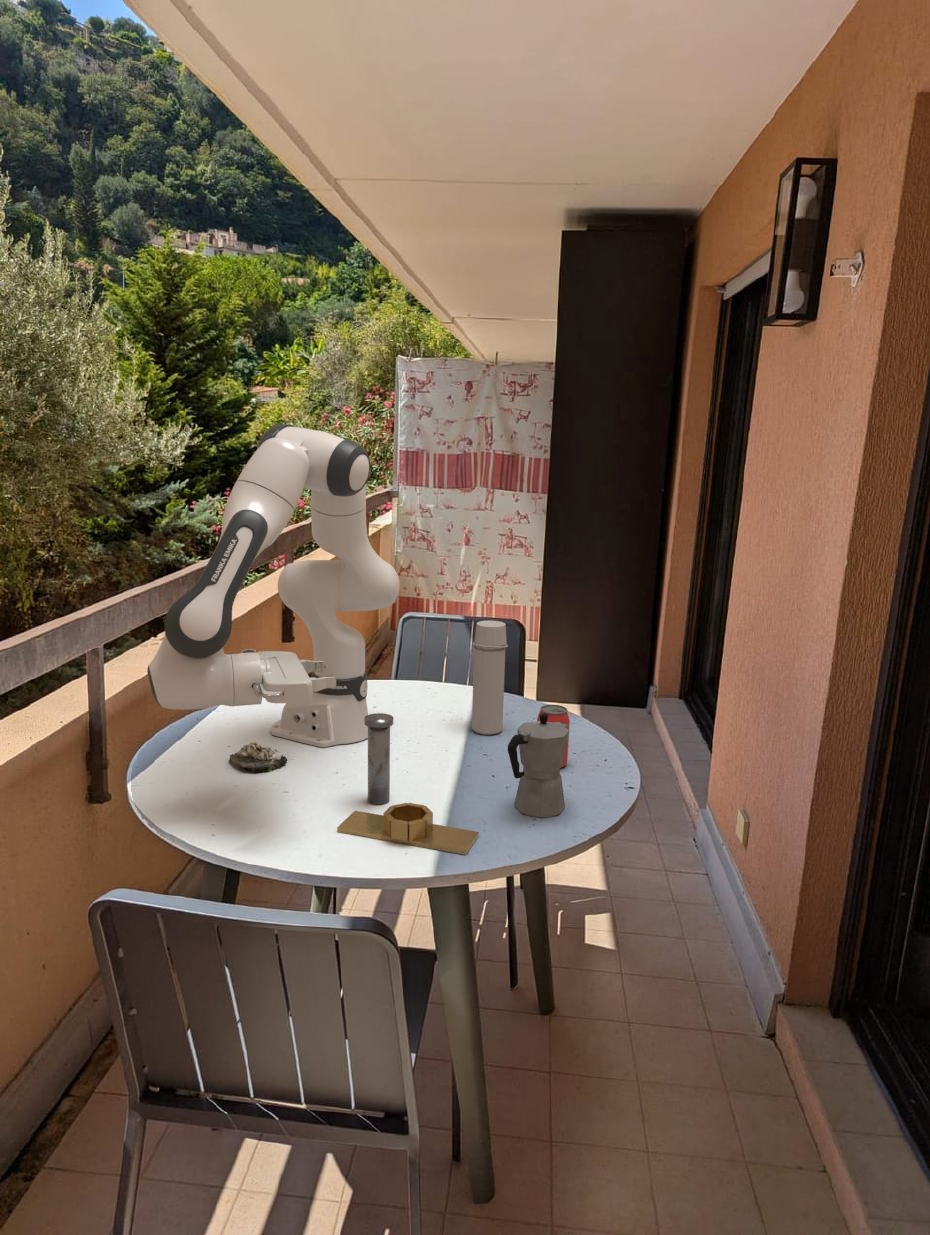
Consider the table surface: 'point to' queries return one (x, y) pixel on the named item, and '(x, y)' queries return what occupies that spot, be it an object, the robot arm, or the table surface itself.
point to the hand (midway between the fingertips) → (330, 673)
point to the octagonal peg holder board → (409, 828)
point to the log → (257, 759)
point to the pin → (378, 757)
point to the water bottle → (488, 677)
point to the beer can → (557, 720)
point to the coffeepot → (539, 766)
